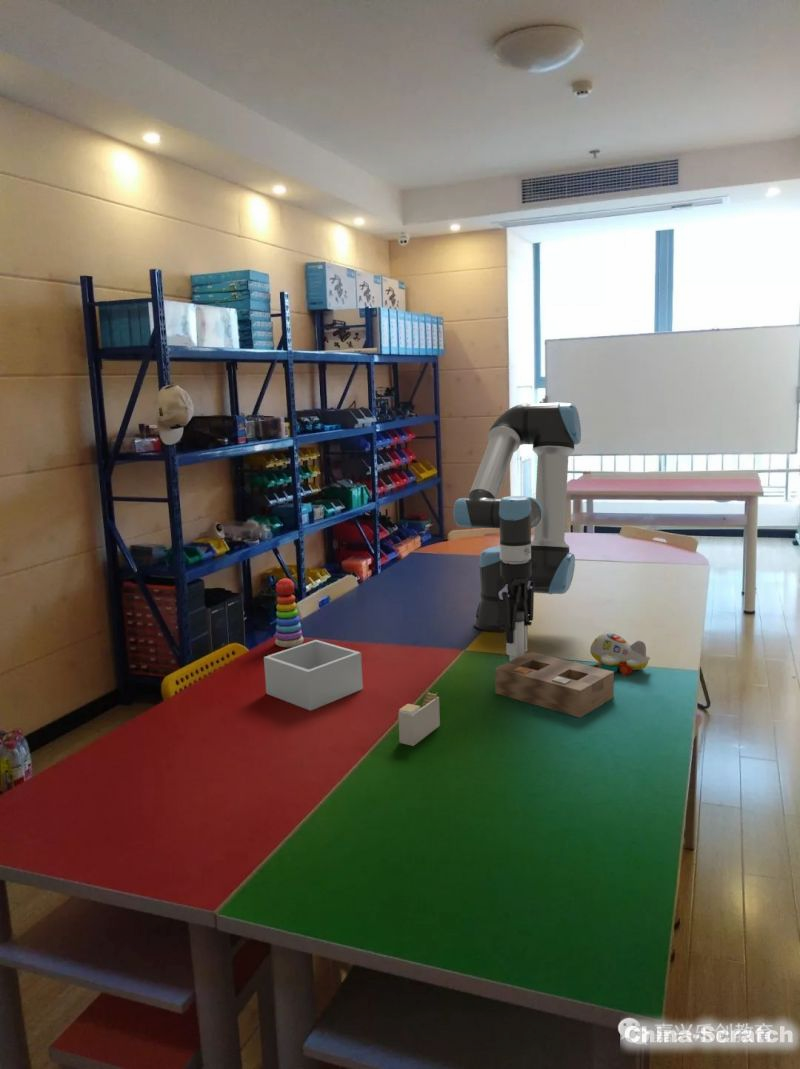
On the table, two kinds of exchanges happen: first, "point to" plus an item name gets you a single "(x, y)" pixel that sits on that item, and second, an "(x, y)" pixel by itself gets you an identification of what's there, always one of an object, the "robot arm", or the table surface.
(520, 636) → the plug
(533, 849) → the table surface
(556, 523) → the robot arm
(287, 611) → the stacking toy
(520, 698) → the socket block
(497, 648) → the table surface
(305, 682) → the box
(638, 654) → the toy airplane
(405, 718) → the model
